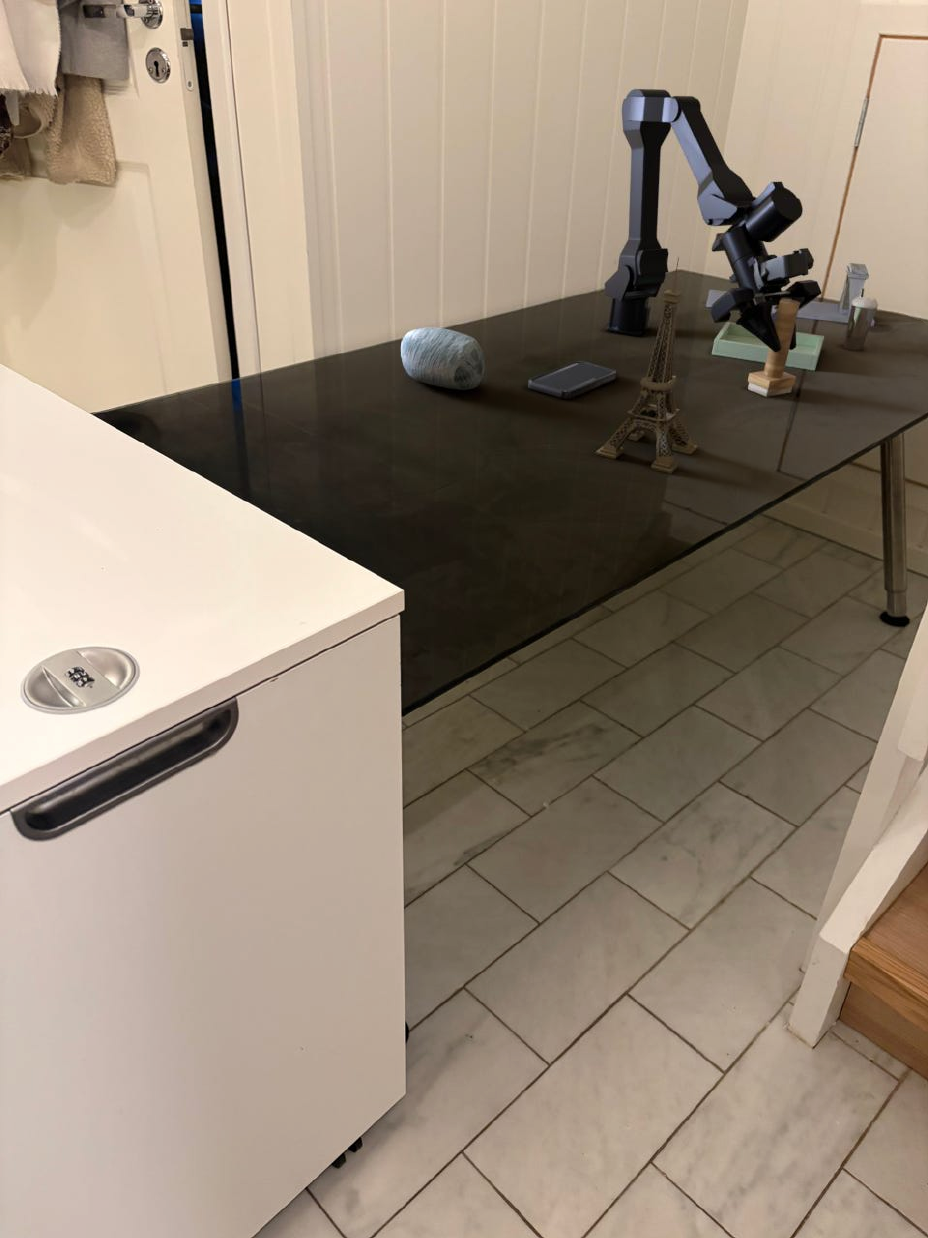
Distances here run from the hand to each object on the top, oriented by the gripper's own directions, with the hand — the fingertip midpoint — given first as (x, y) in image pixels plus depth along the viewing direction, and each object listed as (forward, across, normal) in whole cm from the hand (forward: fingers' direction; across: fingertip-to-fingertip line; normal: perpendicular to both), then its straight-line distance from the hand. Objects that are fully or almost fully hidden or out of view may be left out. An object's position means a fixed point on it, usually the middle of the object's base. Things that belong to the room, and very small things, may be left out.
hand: (785, 349), depth 147 cm
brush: (+4, 0, +6) cm, 7 cm away
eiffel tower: (+12, -35, -2) cm, 37 cm away
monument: (-22, +44, +32) cm, 58 cm away
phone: (-7, -28, +17) cm, 33 cm away
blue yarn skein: (-12, -47, +22) cm, 54 cm away
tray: (-7, +16, +17) cm, 24 cm away
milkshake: (-4, +34, +14) cm, 37 cm away
